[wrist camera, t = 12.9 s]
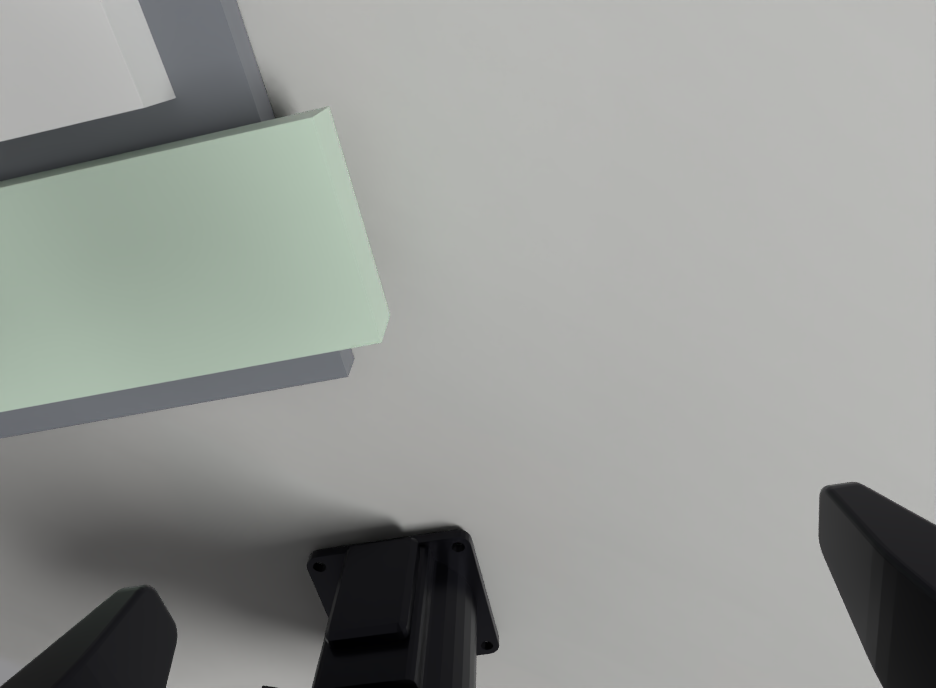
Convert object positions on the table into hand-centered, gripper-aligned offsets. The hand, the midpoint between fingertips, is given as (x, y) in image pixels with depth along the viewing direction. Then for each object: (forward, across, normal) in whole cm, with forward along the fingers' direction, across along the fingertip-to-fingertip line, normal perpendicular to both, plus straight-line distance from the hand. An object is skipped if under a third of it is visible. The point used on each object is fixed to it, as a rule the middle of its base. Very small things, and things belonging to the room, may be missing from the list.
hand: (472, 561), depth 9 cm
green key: (+13, +9, -2) cm, 16 cm away
